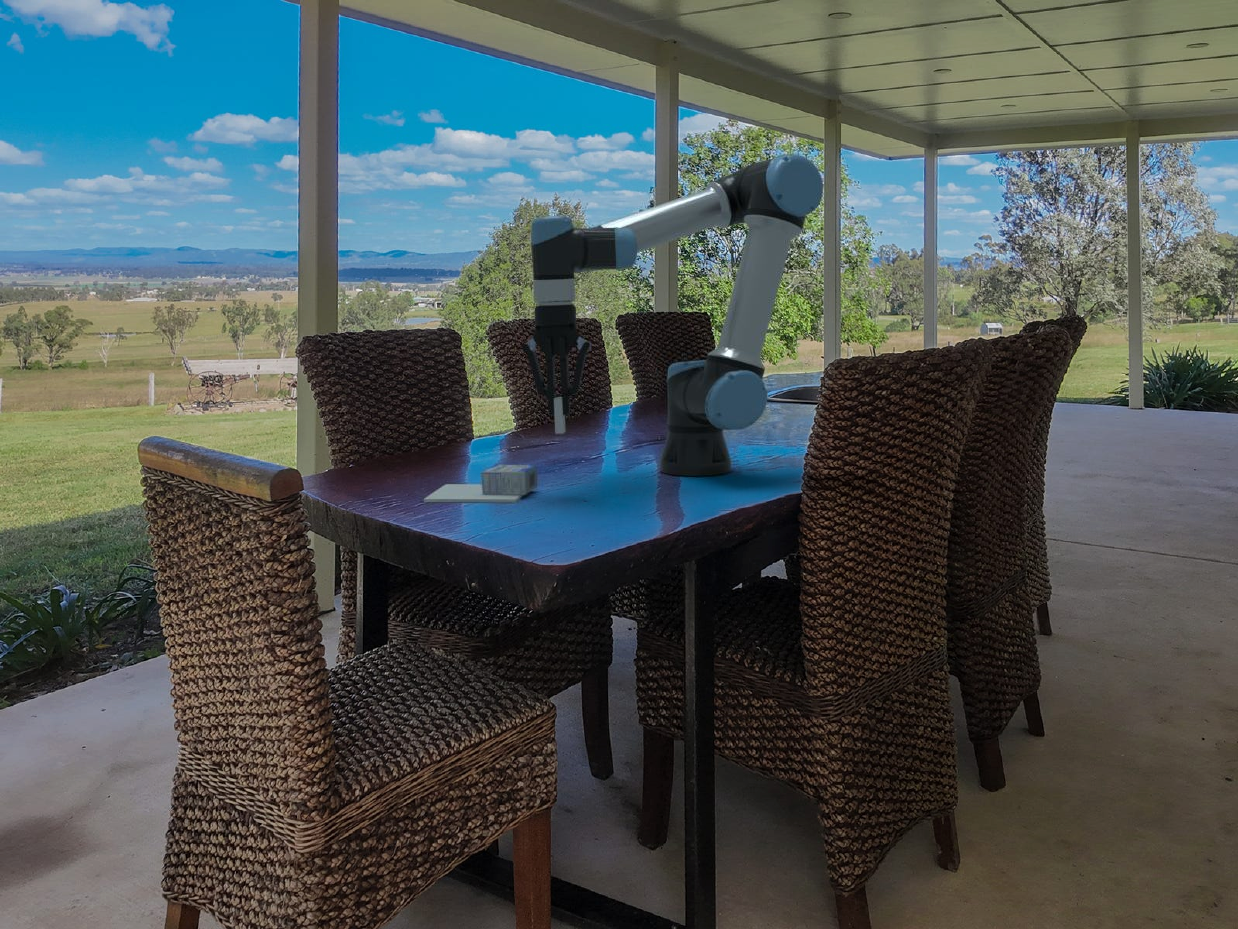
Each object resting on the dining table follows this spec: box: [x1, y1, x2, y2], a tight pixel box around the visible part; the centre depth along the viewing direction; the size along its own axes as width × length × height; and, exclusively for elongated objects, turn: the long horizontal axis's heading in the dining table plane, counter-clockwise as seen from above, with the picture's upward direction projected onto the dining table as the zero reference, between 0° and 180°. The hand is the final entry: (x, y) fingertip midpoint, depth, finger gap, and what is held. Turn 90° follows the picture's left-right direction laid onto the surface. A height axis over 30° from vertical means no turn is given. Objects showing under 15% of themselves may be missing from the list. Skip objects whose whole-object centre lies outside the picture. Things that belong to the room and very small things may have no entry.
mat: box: [423, 483, 524, 504], centre depth 192 cm, size 17×15×1 cm
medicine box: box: [481, 464, 538, 496], centre depth 191 cm, size 8×4×9 cm
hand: (560, 432), depth 188 cm, fingers closed
